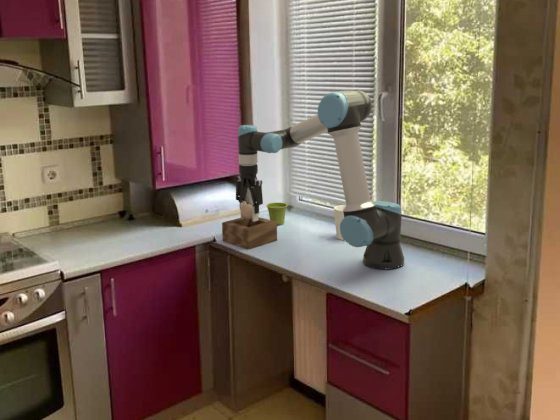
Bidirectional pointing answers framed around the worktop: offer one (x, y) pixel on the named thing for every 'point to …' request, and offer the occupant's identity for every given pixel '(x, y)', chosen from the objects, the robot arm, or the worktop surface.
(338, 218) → the foam cup
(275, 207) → the plant pot
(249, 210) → the garlic bulb
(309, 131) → the robot arm
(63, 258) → the worktop surface
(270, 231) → the walnut well
